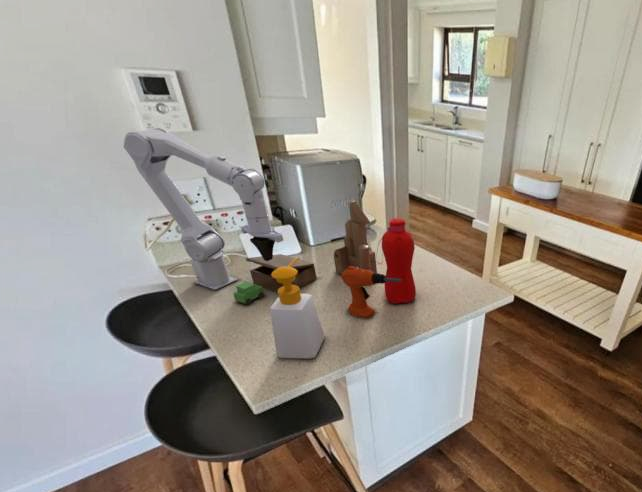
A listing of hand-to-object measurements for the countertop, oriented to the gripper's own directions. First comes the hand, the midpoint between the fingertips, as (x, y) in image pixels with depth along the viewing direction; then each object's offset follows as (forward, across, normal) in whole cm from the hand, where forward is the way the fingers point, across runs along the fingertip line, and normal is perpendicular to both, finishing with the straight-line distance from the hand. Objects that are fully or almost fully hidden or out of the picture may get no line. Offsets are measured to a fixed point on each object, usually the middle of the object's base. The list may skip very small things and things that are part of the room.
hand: (268, 259), depth 112 cm
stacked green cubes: (+10, 0, +9) cm, 13 cm away
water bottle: (+10, -38, -13) cm, 41 cm away
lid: (+3, 0, -4) cm, 5 cm away
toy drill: (+10, -38, -1) cm, 39 cm away
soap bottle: (+10, -30, +18) cm, 36 cm away
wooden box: (+10, 0, -4) cm, 10 cm away
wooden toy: (+10, -18, -19) cm, 28 cm away
